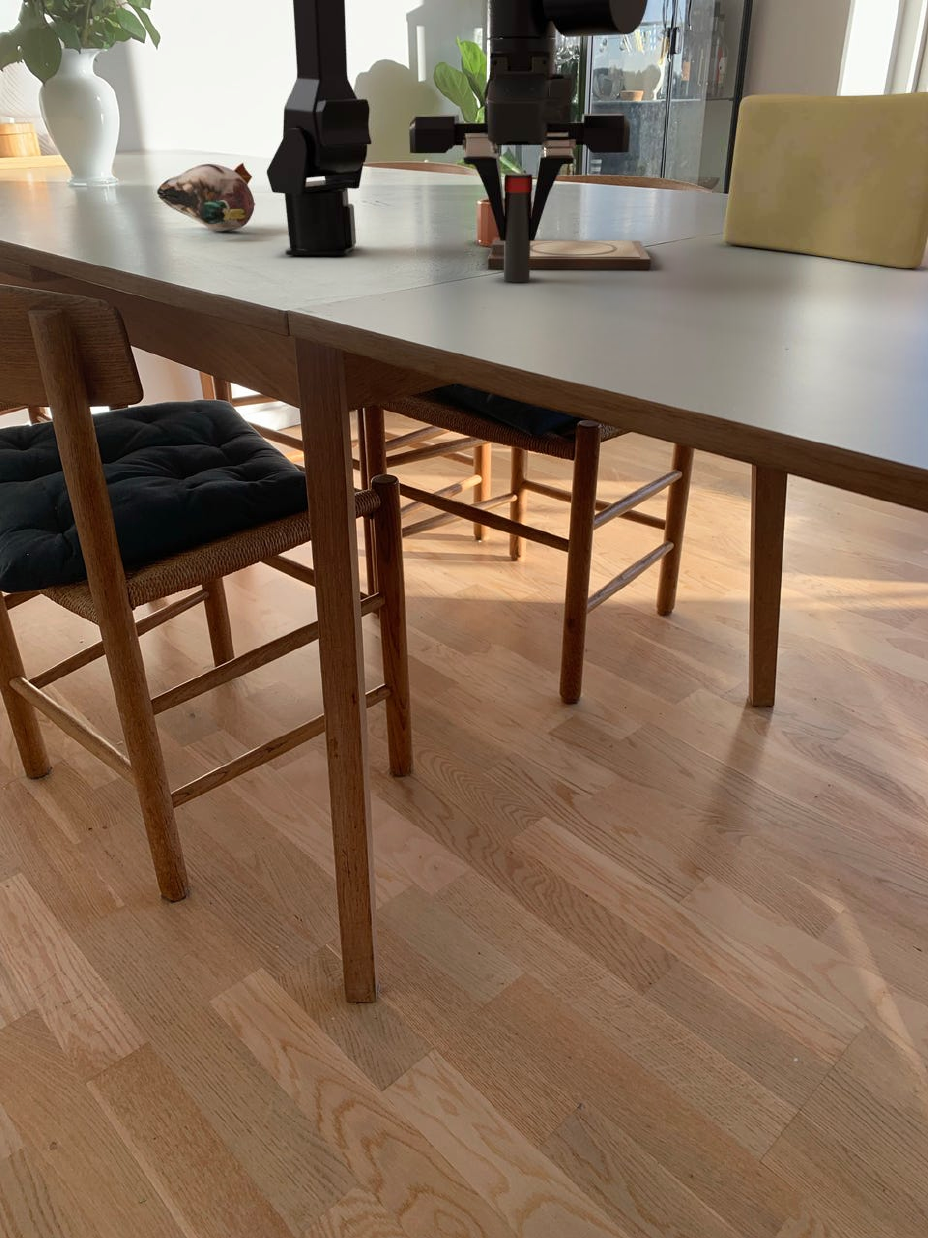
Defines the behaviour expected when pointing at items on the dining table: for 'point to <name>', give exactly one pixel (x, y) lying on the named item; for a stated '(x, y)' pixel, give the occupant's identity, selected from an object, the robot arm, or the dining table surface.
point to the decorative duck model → (211, 196)
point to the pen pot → (487, 223)
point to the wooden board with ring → (578, 255)
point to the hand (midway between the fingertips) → (517, 240)
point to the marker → (517, 227)
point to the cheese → (832, 176)
